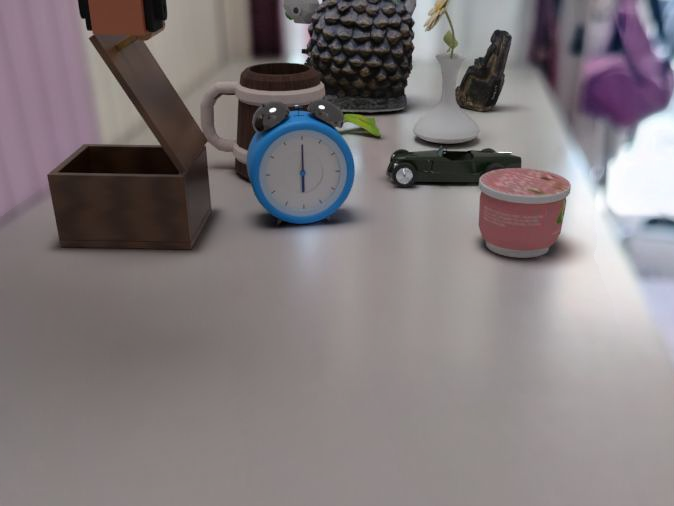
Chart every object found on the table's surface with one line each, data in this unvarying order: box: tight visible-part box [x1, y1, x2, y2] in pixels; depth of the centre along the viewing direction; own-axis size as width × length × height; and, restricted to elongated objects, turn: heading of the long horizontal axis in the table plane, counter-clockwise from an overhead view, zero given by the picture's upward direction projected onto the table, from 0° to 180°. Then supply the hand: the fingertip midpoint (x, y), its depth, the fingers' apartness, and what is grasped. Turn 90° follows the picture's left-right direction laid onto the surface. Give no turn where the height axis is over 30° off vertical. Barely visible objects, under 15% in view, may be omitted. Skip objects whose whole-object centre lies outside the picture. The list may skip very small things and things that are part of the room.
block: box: [88, 0, 149, 36], centre depth 68 cm, size 4×4×4 cm
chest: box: [46, 143, 213, 250], centre depth 99 cm, size 16×13×9 cm
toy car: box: [385, 144, 522, 188], centre depth 117 cm, size 9×20×5 cm, turn 90°
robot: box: [282, 0, 320, 67], centre depth 179 cm, size 12×15×30 cm
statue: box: [455, 28, 513, 112], centre depth 154 cm, size 6×12×15 cm, turn 46°
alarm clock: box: [247, 99, 356, 226], centre depth 101 cm, size 13×6×15 cm, turn 102°
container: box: [478, 167, 572, 259], centre depth 95 cm, size 10×10×8 cm
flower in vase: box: [412, 0, 481, 145], centre depth 130 cm, size 13×11×25 cm
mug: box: [199, 62, 325, 181], centre depth 118 cm, size 20×15×15 cm
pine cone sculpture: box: [306, 0, 417, 113], centre depth 151 cm, size 21×15×25 cm
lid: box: [88, 20, 209, 174], centre depth 92 cm, size 17×13×5 cm
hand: (125, 26), depth 69 cm, fingers closed on block, 4 cm apart
